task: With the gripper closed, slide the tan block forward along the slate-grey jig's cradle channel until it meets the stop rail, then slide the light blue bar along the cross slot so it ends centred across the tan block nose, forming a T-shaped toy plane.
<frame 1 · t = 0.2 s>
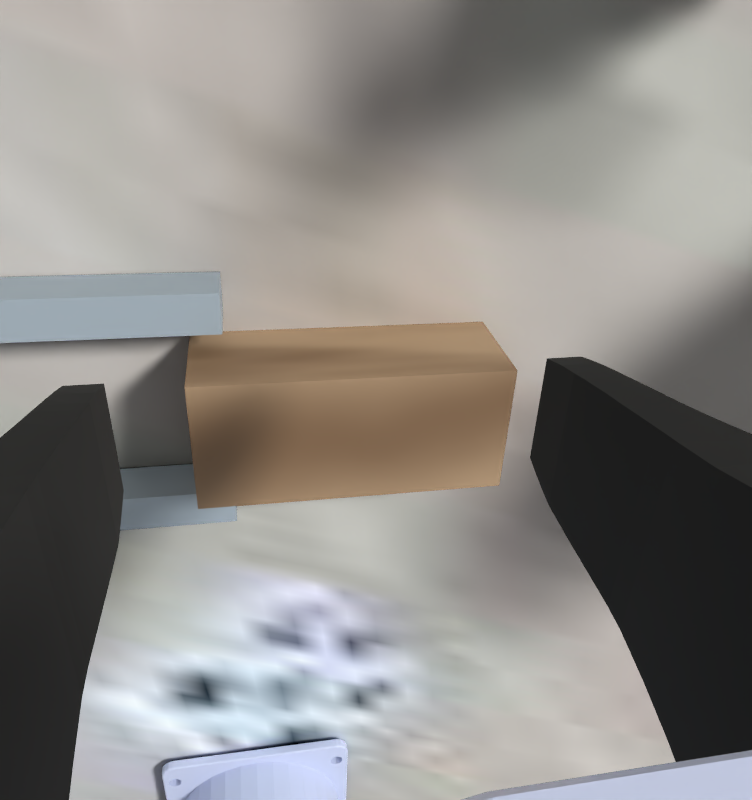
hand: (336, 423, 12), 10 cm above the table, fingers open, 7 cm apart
jig: (23, 401, 21), on the table
tan block: (339, 380, 23), on the table
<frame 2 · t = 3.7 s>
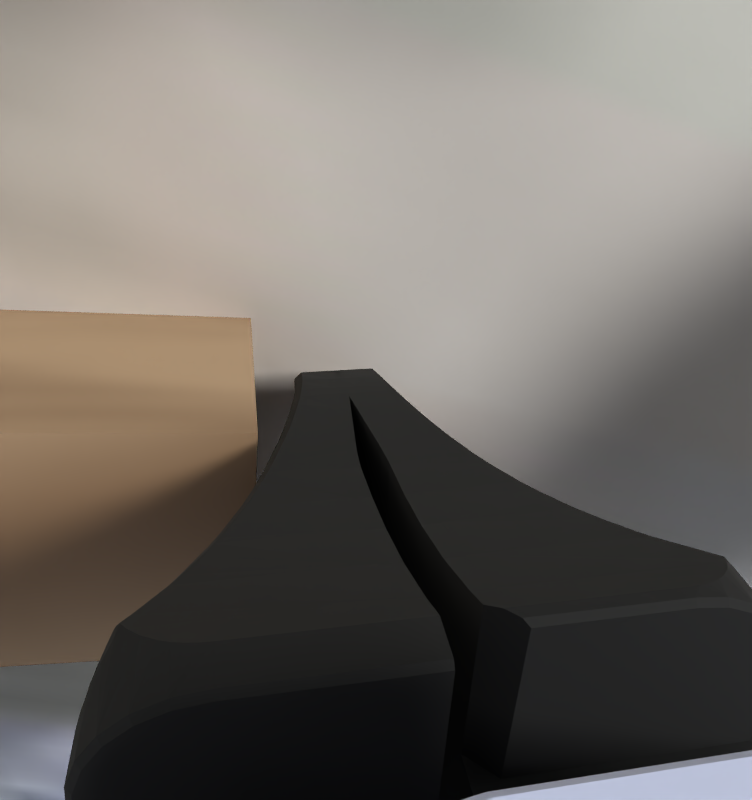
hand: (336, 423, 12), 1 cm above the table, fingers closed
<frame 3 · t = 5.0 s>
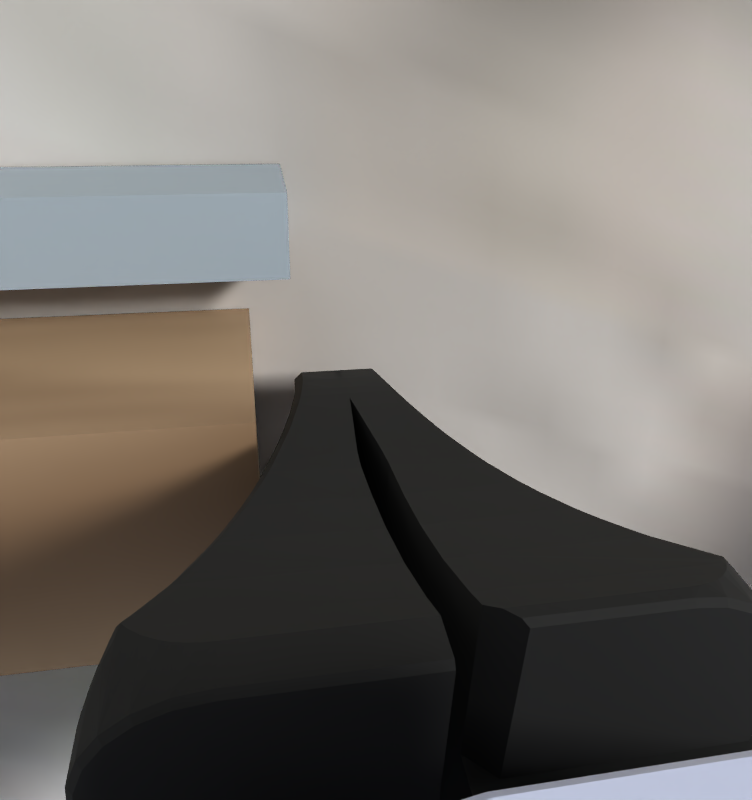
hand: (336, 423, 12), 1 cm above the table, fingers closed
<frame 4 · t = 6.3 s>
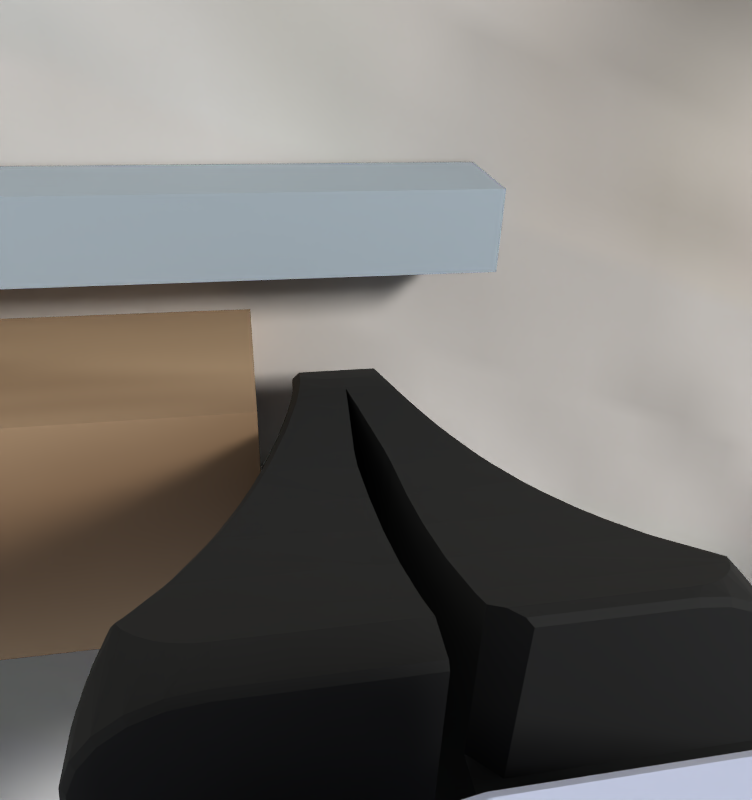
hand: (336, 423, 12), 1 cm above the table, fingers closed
jig: (111, 400, 12), on the table
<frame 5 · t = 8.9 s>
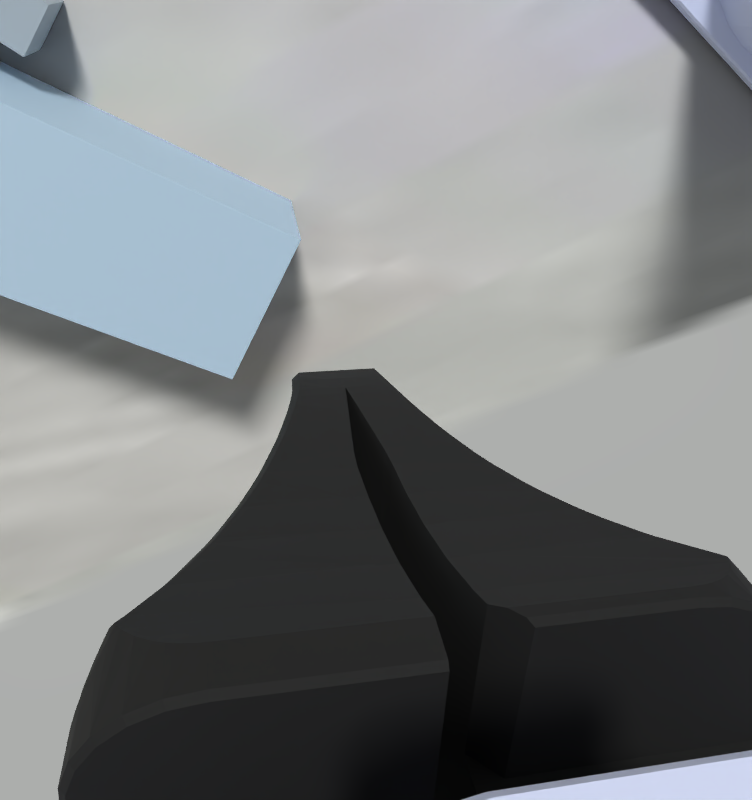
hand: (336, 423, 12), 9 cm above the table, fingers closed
light blue bar: (37, 164, 18), on the table
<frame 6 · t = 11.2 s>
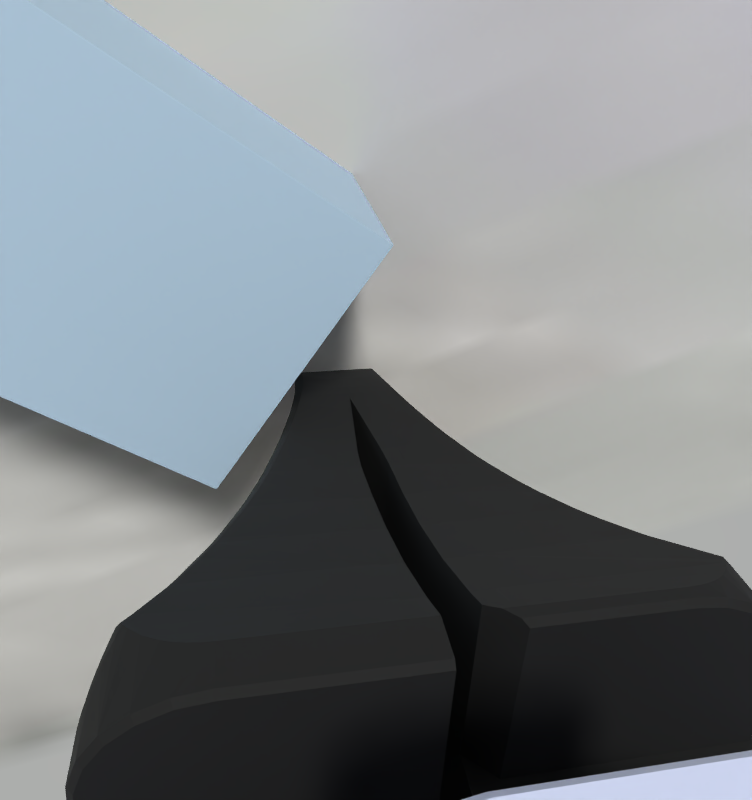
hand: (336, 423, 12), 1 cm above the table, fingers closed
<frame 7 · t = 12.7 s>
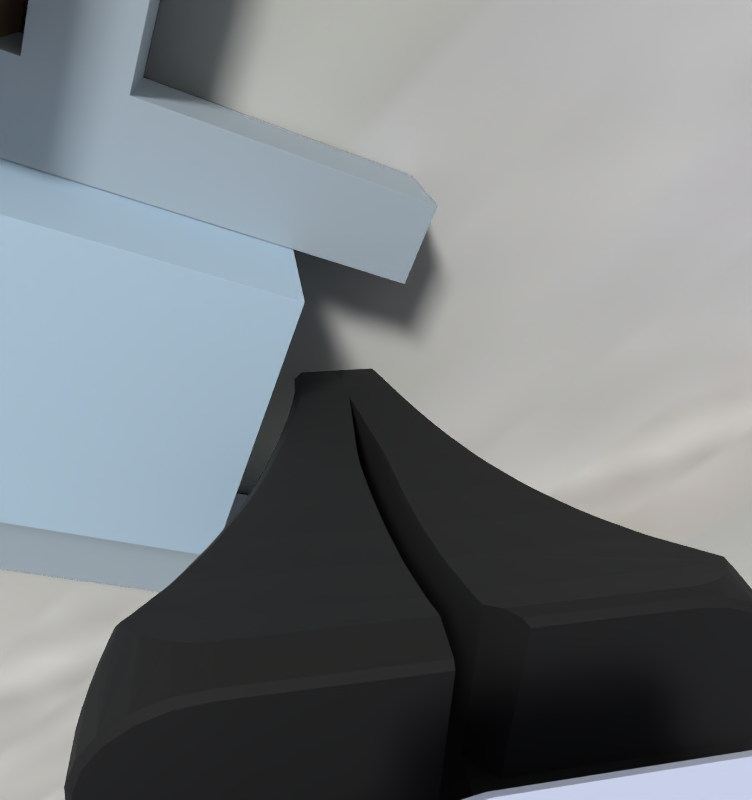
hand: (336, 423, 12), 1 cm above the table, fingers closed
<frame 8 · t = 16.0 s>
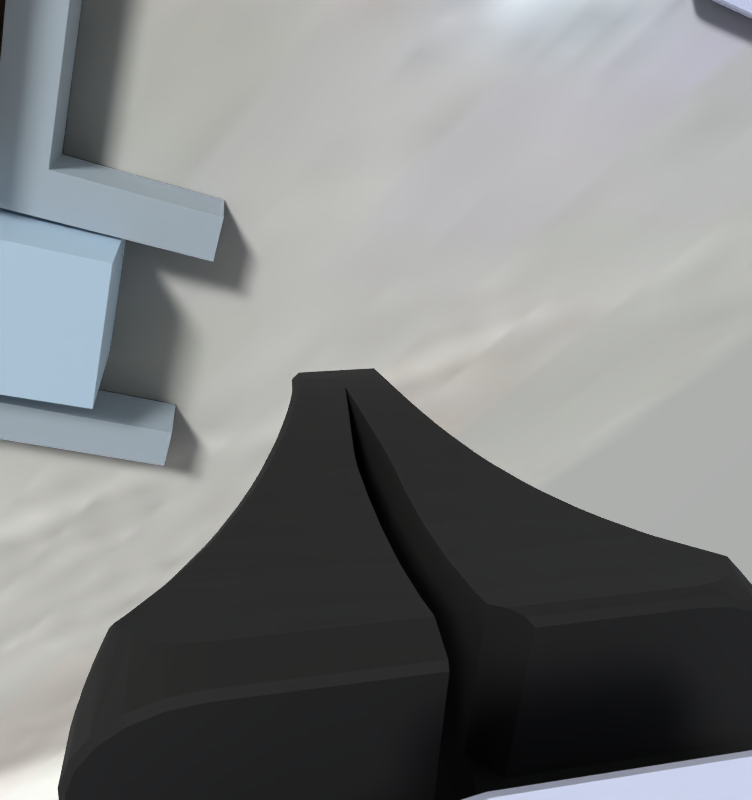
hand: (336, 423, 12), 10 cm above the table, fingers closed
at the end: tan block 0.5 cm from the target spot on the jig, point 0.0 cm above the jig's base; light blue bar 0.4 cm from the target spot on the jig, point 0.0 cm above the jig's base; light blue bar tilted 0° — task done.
